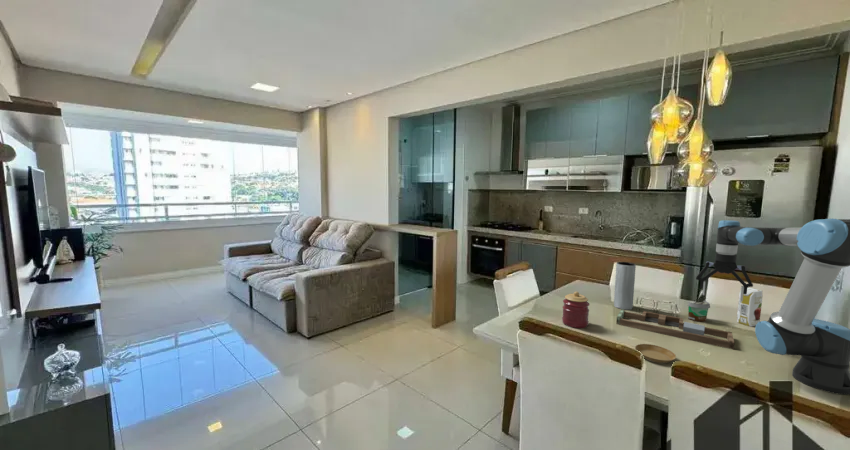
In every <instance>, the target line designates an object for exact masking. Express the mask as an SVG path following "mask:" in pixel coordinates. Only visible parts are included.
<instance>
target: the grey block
mask: <svg viewBox="0 0 850 450" xmlns="http://www.w3.org/2000/svg"><path fill="white" fill-rule="evenodd" d="M683 323H684V326H683V329H682V331H684V332H689V333H693V334H698V335H703V336H705V334H704V329H705V327H706V326H705V325H703V324H697V323H692V322H687V321H683Z"/></svg>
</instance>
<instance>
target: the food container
mask: <svg viewBox="0 0 850 450" xmlns="http://www.w3.org/2000/svg"><path fill="white" fill-rule="evenodd" d="M687 306H688V309H687V310H688V311H687V313H688V314H687V315H688V319H687V320H689V321H692V322H698V323H705V322H707V318H708V313H709V309H711V304H710V302H708V301H706V300H703V301H701V302H699V301H696V302H690V301H689V302H688V303H687Z"/></svg>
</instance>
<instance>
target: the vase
mask: <svg viewBox="0 0 850 450" xmlns="http://www.w3.org/2000/svg"><path fill="white" fill-rule="evenodd" d="M636 265H637V264H635V263H633V262H629V261H627V262H626V261H618V262H617V261H616V266H615V267H616V268H615V269H616V270H615V282H614V284H615V285H614V299H613V306H614V307H615V308H617V309H620V310H621V309H624V311H625V310H627V311H629V310H632V309H633V308H634V307H633V306H634V295H635V282H636V281H635V279H636Z"/></svg>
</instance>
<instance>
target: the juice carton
mask: <svg viewBox="0 0 850 450" xmlns="http://www.w3.org/2000/svg"><path fill="white" fill-rule="evenodd" d="M740 294H741V289H740V291H739V295H738V306H737V314H736V323H738V324H740V325H744V326H747V327H754V326H755V327H756V324H757V323H758V322H761V321H760V320H761V315H762V314H761V312H762V305H763V304H762V303H763V290H761V289H757V288H753V287H748V288H747V294H743V301H740Z"/></svg>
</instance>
